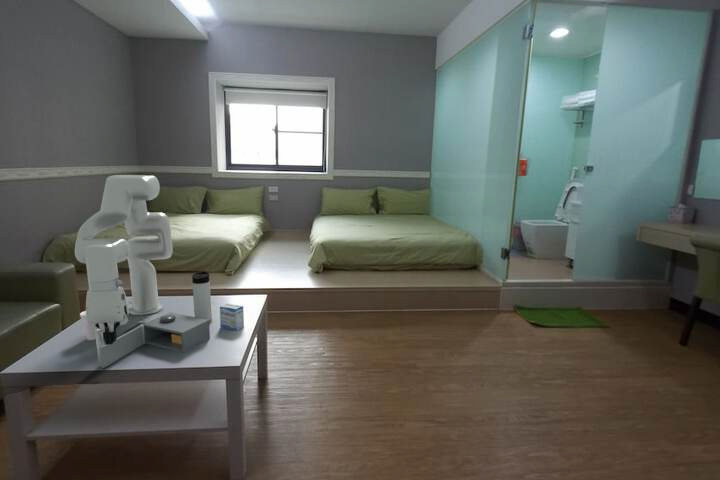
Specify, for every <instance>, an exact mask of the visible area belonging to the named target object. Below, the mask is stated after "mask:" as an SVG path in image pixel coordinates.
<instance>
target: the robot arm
mask: <svg viewBox="0 0 720 480" xmlns="http://www.w3.org/2000/svg"><path fill="white" fill-rule="evenodd" d="M159 181H160V180H158V178H157V177H156V176H155V175H150V174H149V175H146V174H145V175H144V174H143V175H142V174H140V175H137V174H136V175H135V174H114V175H110V176H108V177H106V179H105V185H104V189H103V194H102V198H101V199H102V200H101V204H100V210H99V211H97V212H96V213H94V214H93V215H92V216H90V217H89V218H88V219H87V220H86V221H84V223H83V224H81V226H80V228H79V229H78V231H77V237H76V240H75V246H74V256H75V258H76V260H77V262H80V263H81V264H85V265H86V275H87V282H88V290H86V291H87V292H86V295H85V296H86V298H85V299H86V300H85V311H86V316H87V320H88V325H89V326H96V327H97V328H99V329H100V330H101V332H102V334H103V342H104V345H105V344H106V345H108V344H109V345H112V344H113V343H114V342H115V341H116V339H117V337H118V335H117V329H118V328H119V326H123V325H126V324H128V323H129V318H128V316H129V315H133V316H147V315H153V314H155V313H158V312H160V311H162V310H163V308H164V306H163V304H162V303H160V302H159V294H158V293H159V292H158V283H157V271H156V268H155V266H154V265H153V264H152V262H150V261H151V260H153V261H156V260H167V259H170V258H171V257H172V255H173V252H174V249H173V246H174V245H173V239H172V231H171V224H170V219H169V217H168V216H167V214H166V213H163V212H158V211H157V212H149V211H148V206H147V202H146V201H151V200H154V199H156V198H157V197H158V196H159V194H160V191H161V190H160V189H161V188H160V187H161V185H160V182H159ZM121 224H124V227H125V230H126V233H127V234H128V235H129V236H132V237H133V238H130V239H128V240H127V239H125V238H121V237H111V238H110V237H107V238H105V237H103V238H101V237H100V238H95V237H96V236H97V235H99V234H100V233H101V232H102V233H103V231H107V230H109V229H112V228H114V227H116V226H120V225H121ZM126 260H127V262H128V268H129V277H130V287H131V288H130V289H131V290H130V291H131V298H130V300H129V301H128V299H127V295H126V291H125V290H124V287H123V286H124V285H125V281H124V280H122V279H120V277H119V269H118V268H119V267H118V263H122V262H124V261H126ZM129 305H131V307H130V309H129Z"/></svg>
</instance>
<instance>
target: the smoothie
mask: <svg viewBox="0 0 720 480" xmlns="http://www.w3.org/2000/svg"><path fill="white" fill-rule="evenodd" d="M79 318H81V322H82V324H83V327H84V331H85V335H86V339H87V341H96V336H95V330H96V329H99V328H97V327H96V326H89V325H88V320H87V316H86V310H84V311H82V312H80V313H79Z"/></svg>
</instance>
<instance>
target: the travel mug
mask: <svg viewBox="0 0 720 480" xmlns="http://www.w3.org/2000/svg"><path fill="white" fill-rule="evenodd" d="M191 276H192V277H191V280H192V294H193V307H194V308H193V312H194V317H197V318H202V319H207V320H209V324H211V322H212V321H213V319H212V300H211V299H212V298H211V283H210V282H211V281H210V273H209V272H208V271H207V270H205V271H199V272H196V273H194V274H192V275H191Z"/></svg>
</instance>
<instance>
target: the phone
mask: <svg viewBox="0 0 720 480" xmlns="http://www.w3.org/2000/svg"><path fill="white" fill-rule="evenodd" d="M144 323H145V322H136V324H134V325H132V326H131V327H129V328H128V329H126V330H125V331H123V333H121V334H119V335H117V338H118V337H120V336H122V335H124V334H125V333H127V332H129V331H131V330H133V329H135V328H137V327H138V326H140V325H143V324H144Z"/></svg>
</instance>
